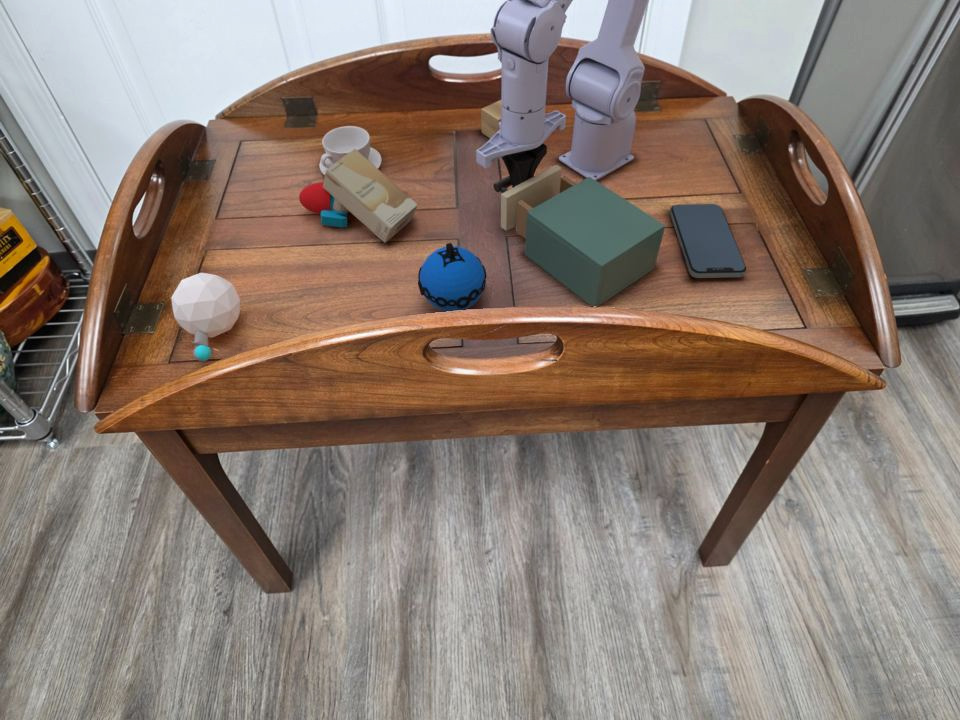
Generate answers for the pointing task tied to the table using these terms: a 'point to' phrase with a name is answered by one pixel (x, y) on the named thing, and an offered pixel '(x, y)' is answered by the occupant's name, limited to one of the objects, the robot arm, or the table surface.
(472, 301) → the ornament
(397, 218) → the cosmetic box
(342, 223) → the toy figure
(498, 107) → the block
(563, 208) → the cabinet
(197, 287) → the perfume bottle
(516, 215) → the drawer
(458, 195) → the table surface
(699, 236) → the smartphone
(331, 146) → the teacup
